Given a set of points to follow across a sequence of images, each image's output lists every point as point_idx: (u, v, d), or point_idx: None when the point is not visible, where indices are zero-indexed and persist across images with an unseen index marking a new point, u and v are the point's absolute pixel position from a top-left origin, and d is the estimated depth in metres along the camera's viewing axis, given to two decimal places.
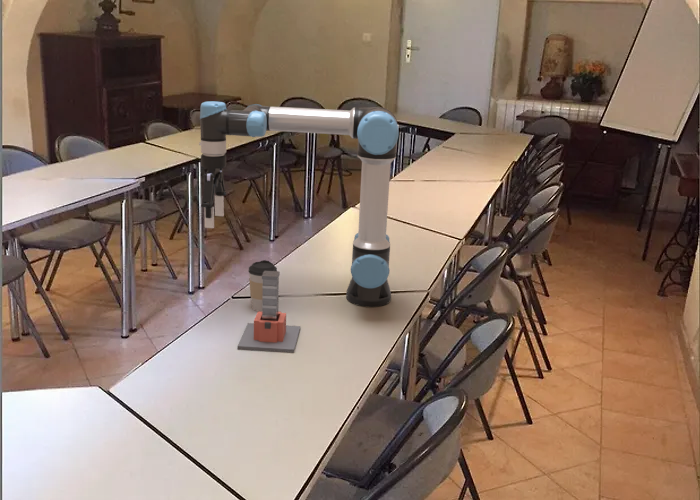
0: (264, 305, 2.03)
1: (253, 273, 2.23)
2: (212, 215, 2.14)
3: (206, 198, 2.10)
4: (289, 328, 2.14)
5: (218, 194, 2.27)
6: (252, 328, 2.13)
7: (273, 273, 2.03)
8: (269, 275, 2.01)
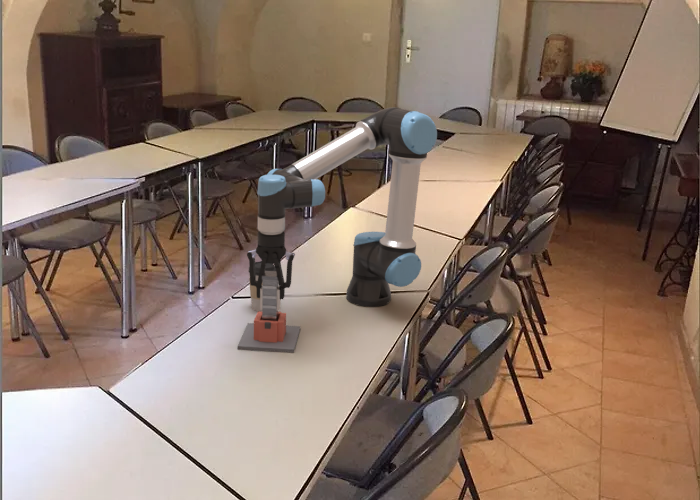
0: (264, 305, 2.03)
1: None
2: None
3: None
4: (289, 328, 2.14)
5: None
6: (252, 328, 2.13)
7: (273, 273, 2.03)
8: (269, 275, 2.01)
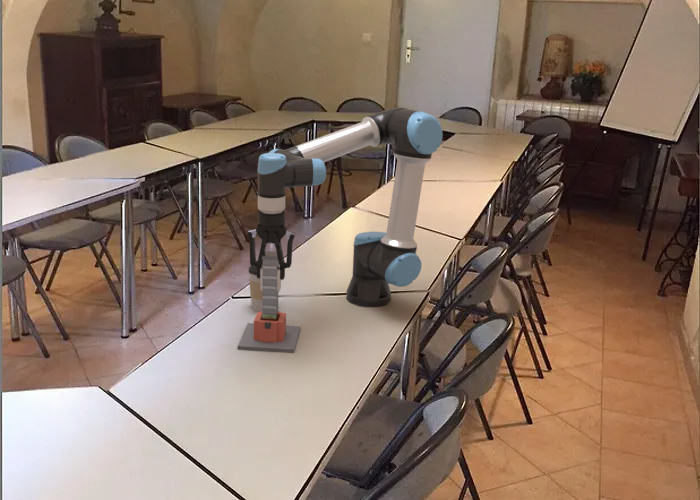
0: (264, 285, 2.01)
1: (253, 273, 2.23)
2: None
3: None
4: (289, 328, 2.14)
5: None
6: (252, 328, 2.13)
7: (274, 253, 2.01)
8: (269, 255, 1.99)
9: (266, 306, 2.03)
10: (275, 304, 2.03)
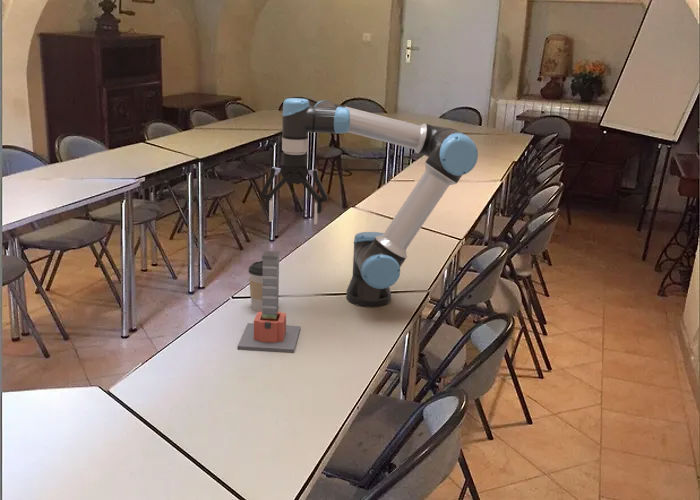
0: (264, 285, 2.01)
1: (253, 273, 2.23)
2: None
3: None
4: (289, 328, 2.14)
5: None
6: (252, 328, 2.13)
7: (274, 253, 2.01)
8: (269, 255, 1.99)
9: (266, 306, 2.03)
10: (275, 304, 2.03)
